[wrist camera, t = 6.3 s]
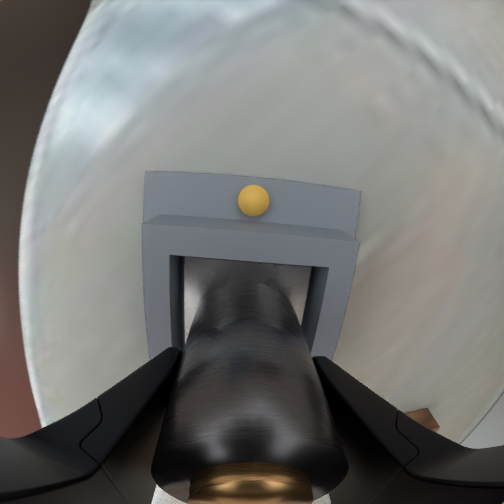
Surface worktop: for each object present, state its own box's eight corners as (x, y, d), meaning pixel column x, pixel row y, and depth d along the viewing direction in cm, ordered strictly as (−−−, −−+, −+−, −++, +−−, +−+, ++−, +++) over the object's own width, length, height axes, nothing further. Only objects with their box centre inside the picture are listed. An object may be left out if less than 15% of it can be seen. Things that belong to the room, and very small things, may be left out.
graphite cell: (306, 285, 10) (389, 448, 3) (289, 371, 11) (321, 522, 4) (193, 276, 10) (123, 446, 3) (193, 365, 11) (162, 520, 4)
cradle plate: (308, 262, 11) (311, 266, 11) (290, 358, 12) (292, 366, 12) (187, 252, 11) (184, 256, 10) (187, 351, 12) (185, 359, 12)
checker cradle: (352, 189, 12) (385, 196, 9) (312, 383, 15) (324, 421, 12) (152, 171, 11) (124, 171, 8) (158, 373, 14) (144, 411, 11)
